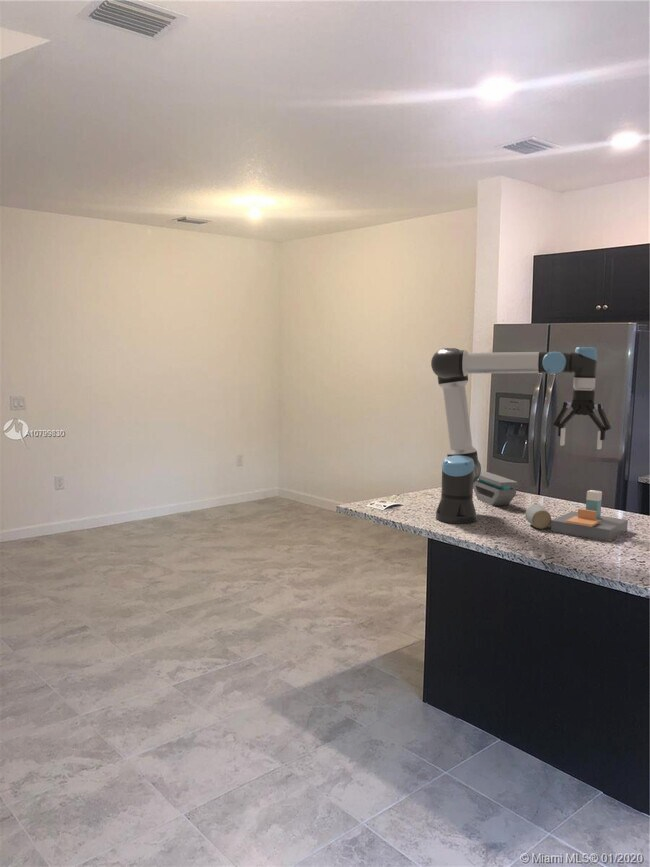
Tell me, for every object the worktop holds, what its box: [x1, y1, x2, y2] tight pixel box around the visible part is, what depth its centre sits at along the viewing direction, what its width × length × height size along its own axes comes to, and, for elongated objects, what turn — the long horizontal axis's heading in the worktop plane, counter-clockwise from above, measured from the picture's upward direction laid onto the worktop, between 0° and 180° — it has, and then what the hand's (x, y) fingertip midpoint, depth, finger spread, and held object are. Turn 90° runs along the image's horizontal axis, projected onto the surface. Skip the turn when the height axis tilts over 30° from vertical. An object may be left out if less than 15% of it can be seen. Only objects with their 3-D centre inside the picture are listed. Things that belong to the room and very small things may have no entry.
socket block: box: [550, 510, 629, 542], centre depth 248 cm, size 20×20×4 cm
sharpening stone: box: [473, 471, 519, 506], centre depth 295 cm, size 25×8×11 cm, turn 16°
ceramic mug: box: [525, 504, 553, 530], centre depth 253 cm, size 11×8×8 cm
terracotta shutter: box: [566, 508, 601, 527], centre depth 243 cm, size 9×9×4 cm
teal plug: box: [585, 489, 603, 520], centre depth 250 cm, size 4×4×14 cm
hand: (580, 447), depth 257 cm, fingers open, 13 cm apart
